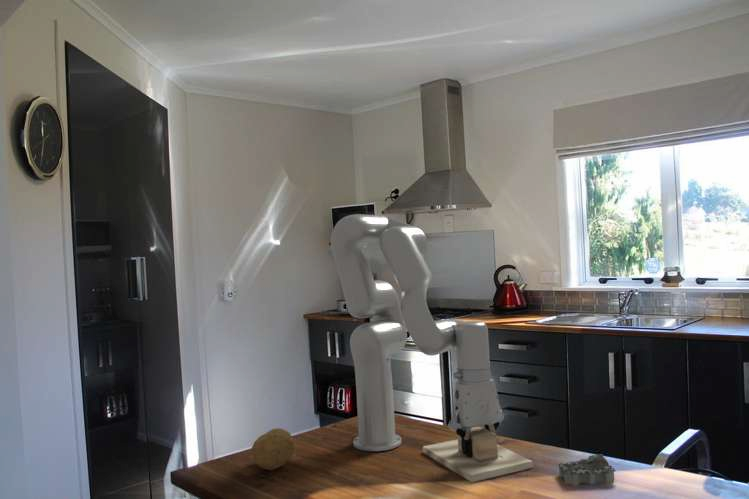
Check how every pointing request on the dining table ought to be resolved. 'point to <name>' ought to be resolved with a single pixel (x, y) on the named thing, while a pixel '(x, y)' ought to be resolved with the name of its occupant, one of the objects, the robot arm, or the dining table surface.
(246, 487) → the dining table surface
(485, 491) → the dining table surface
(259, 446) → the potato
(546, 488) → the dining table surface
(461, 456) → the board
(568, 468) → the egg carton
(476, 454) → the block
